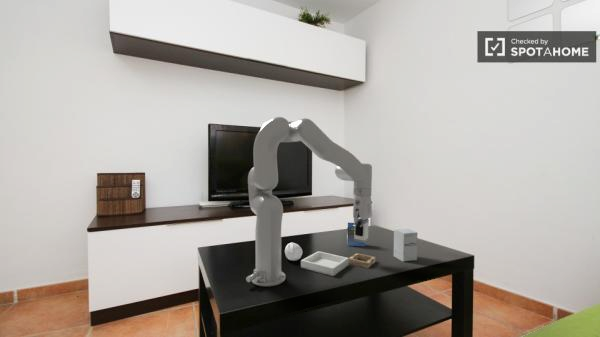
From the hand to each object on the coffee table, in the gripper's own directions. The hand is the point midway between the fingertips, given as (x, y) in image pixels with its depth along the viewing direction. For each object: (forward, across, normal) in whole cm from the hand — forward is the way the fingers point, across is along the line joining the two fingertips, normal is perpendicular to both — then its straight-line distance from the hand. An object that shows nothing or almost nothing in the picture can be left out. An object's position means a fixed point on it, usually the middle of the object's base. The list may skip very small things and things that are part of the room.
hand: (361, 233), depth 117 cm
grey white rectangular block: (+3, 0, 0) cm, 3 cm away
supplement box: (+12, +17, -14) cm, 25 cm away
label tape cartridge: (+13, +22, +12) cm, 28 cm away
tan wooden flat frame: (+13, +1, 0) cm, 13 cm away
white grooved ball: (+13, -14, +26) cm, 32 cm away
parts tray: (+13, -12, +11) cm, 21 cm away
